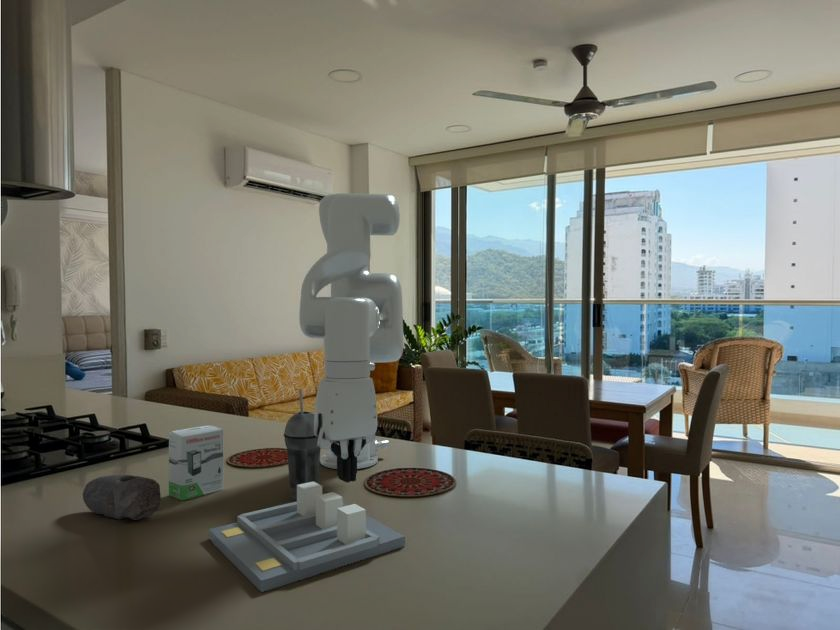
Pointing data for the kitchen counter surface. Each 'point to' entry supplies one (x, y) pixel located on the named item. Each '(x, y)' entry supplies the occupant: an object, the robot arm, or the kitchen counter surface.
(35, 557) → the kitchen counter surface
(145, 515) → the perforated stone tool
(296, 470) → the beverage cup
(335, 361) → the robot arm
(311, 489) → the tab
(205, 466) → the ink box
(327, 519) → the tab
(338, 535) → the tab
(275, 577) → the switch board
